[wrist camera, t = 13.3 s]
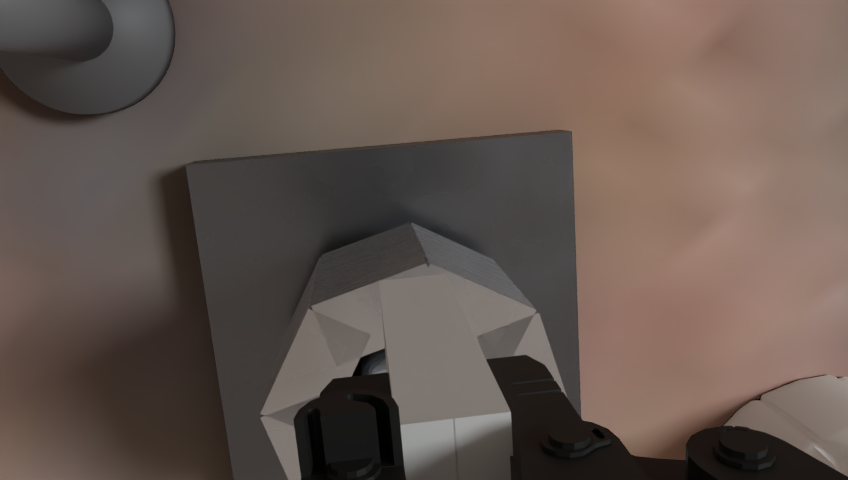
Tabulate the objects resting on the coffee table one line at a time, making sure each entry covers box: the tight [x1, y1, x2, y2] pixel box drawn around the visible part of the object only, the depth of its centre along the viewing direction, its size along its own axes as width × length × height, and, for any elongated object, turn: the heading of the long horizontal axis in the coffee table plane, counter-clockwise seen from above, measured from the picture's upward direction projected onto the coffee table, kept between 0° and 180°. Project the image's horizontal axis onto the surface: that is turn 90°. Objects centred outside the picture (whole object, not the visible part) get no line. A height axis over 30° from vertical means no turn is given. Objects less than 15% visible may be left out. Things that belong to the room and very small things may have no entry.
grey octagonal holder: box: [260, 222, 567, 480], centre depth 21 cm, size 8×8×6 cm
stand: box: [0, 0, 175, 114], centre depth 20 cm, size 6×6×8 cm
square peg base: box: [185, 130, 581, 480], centre depth 23 cm, size 14×14×9 cm
